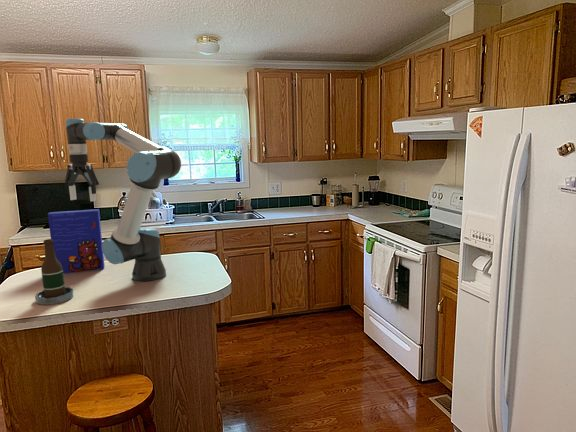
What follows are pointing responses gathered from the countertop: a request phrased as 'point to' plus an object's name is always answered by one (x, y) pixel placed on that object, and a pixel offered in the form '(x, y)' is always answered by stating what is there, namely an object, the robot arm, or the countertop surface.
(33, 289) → the countertop surface
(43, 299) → the dark grey shallow dish
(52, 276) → the beer bottle
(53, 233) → the cereal box
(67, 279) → the countertop surface
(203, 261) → the countertop surface
